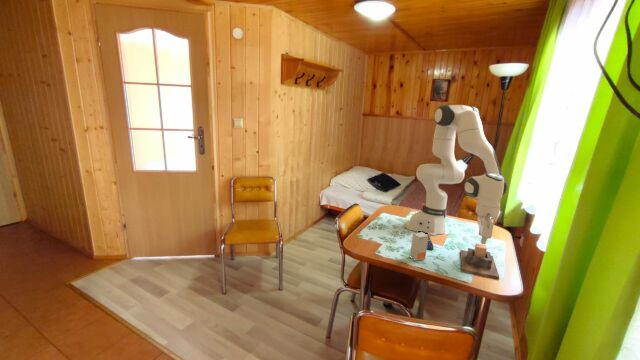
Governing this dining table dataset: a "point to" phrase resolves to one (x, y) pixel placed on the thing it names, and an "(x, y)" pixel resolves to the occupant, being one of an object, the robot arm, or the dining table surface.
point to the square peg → (480, 250)
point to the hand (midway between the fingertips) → (481, 239)
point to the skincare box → (419, 246)
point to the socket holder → (478, 264)
